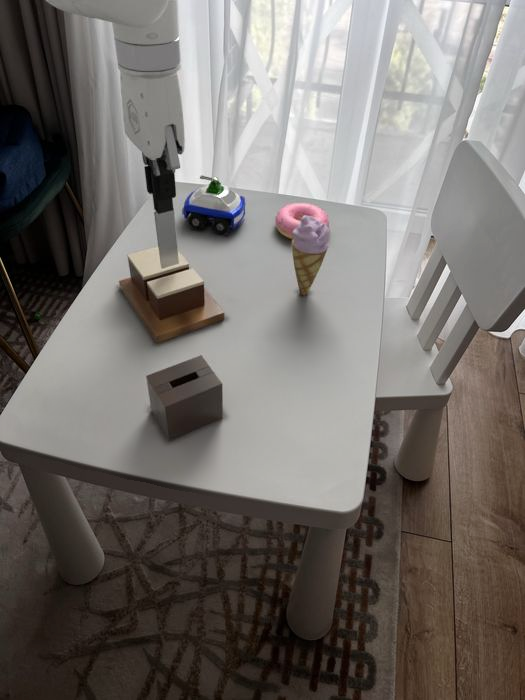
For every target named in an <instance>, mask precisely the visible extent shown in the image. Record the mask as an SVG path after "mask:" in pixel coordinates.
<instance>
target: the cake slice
mask: <svg viewBox="0 0 525 700" xmlns="http://www.w3.org/2000/svg"><path fill="white" fill-rule="evenodd" d="M147 286H148V294H149V302H150V307H151V308H152V310H153V311H154V313H155V314H156V316H157V317H158V318H159V320H163V319H166V318H169V317H172V316H175V315H178V314H181V313H184V312H187V311H190V310H193V309H196V308H199V307H202V306H205V298H204V289H205V281H204V280H203V279H202V277H201V276H200V275H199V274H198V272H197V271H196V270H195V269H194V268H189V270H185V271H182V272H179V273H175V274H172V275H169V276H166V277H162V278H159V279H156V280H152V281H149V282H147Z"/></svg>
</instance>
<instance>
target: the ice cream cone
mask: <svg viewBox="0 0 525 700" xmlns="http://www.w3.org/2000/svg"><path fill="white" fill-rule="evenodd" d="M299 219H300V218H299ZM300 221H301V222H300V223H299V224H298V225H297V227H296V228H295V229H294V231H293V240H292V239H291V251H292V261H293V267H294V271H295V277H296V281H297V287H298V291H299V294H300V295H302V296H307V295H308V293H309V291H310V289H311V287H312V285H313V284H314V282H315V280H316V277H317V275H318V274H319V271H320V269H321V266H322V264H323V262H324V260H325V257H326V255H327V251H328V248H329V246H330V232H331V230H330V229H329V227H327V224H326V223H322V224H321V223H320V222H319V220H318V219H316V218H314V217H312V216H306V215H304V216H303V217H302V218H301V219H300Z"/></svg>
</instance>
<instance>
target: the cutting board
mask: <svg viewBox="0 0 525 700" xmlns="http://www.w3.org/2000/svg"><path fill="white" fill-rule="evenodd" d="M118 283H119V289H120V290H121V291H122V293H123V294H124V296H125V298H126V299H127V301H128V302H129V303H130V305H131V307H132V308H133V309H134V311H135V312H136V314H137V316H138V317H139V318H140V320H141V322H142V323H143V324H144V326H145V327H146V329H147V330H148V332H149V334H150V335H151V337H152V338H153V340H154V341H155V342H156V344H159V343H162V342H164V341H167V340H170V339H173V338H175V337H179V336H181V335H184V334H187V333H189V332H192V331H195V330H198V329H201V328H204V327H207V326H209V325H212V324H216V323H218V322H221V321H224V320H225V311H224V310H223V309H222V307H220V305H218V303H217V302H216V301H215V300H214V299H213V297H212V296H211V295H210V294H209V292H208V291H207V290H206V289H205V288H204V298H205V306H202V307H199V308H196V309H193V310H190V311H187V312H184V313H181V314H178V315H175V316H172V317H169V318H166V319H163V320H159V318H158V317H157V316H156V314H155V313H154V311H153V310H152V308H151V307H150V302H149V301H146V300H145V298H144V297H143V295H142V294H141V292H140V291H139V290H138V288H137V287H136V285H135V284H134V282H133V281H132V279H131V276H130V277H127V278H124V279H121V280H120V279H119V280H118Z"/></svg>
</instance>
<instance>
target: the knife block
mask: <svg viewBox="0 0 525 700" xmlns="http://www.w3.org/2000/svg"><path fill="white" fill-rule="evenodd" d="M145 377H146V385H147V391H148V397H149V404H150V410H151V412H152V414H153V416H154V417H155V419H156V421H157V422H158V424H159V426H160V428H161V430H162V431H163V433H164V434H165V436H166V438H167V440H168V441H169V442H171V441H173V440H175V439H177V438H179V437H182V436H185V435H186V434H189V433H191V432H193V431H196V430H198V429H200V428H202V427H205V426H207V425H209V424H211V423H214V422H216V421H218V420H221V419H223V418H224V417H223V415H224V413H223V411H224V410H223V409H224V407H223V404H224V403H223V402H224V401H223V396H224V395H223V392H224V391H223V382H222V381H221V379H220V378H219V377H218V376H217V374H216V372H214V370H213V369H212V367H211V366H210V365H209V363H208V362H207V361H206V359H205V358H204V356H203V355H202V354H200V355H198V356H196V357H192V358H189V359H188V360H187V359H186V360H185V361H182V362H179V363H176V364H174V365H171V366H167V367H166V368H163V369H160V370H158V371H155V372H152V373H150V374H147V375H145Z"/></svg>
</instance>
